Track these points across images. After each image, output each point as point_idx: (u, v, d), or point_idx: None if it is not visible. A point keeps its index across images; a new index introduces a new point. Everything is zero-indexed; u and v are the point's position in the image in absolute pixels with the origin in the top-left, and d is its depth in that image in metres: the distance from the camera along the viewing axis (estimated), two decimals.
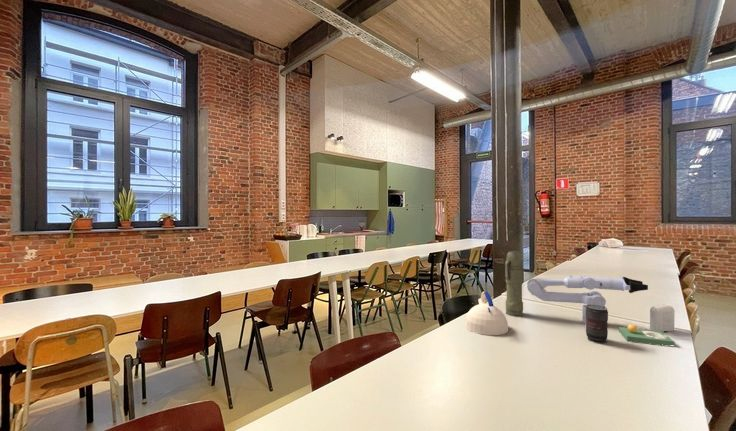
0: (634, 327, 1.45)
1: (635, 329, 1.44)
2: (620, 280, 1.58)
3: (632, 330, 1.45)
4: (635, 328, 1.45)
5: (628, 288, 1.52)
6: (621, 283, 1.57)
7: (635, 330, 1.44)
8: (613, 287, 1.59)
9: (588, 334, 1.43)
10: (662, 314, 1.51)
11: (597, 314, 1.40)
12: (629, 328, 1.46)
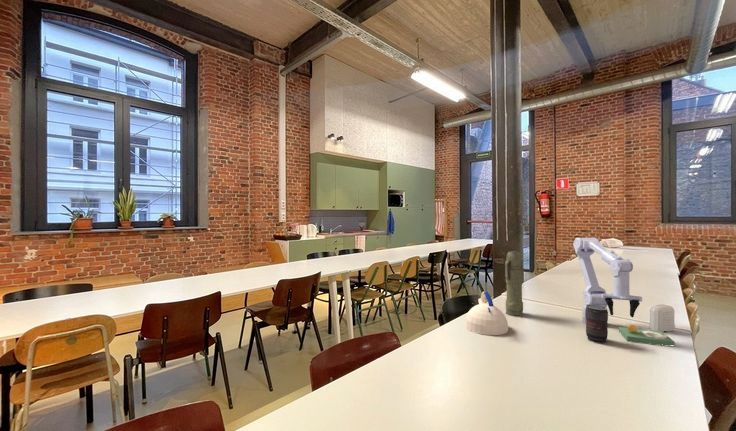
0: (634, 327, 1.45)
1: (635, 329, 1.44)
2: (618, 295, 1.46)
3: (632, 330, 1.45)
4: (635, 328, 1.45)
5: (602, 296, 1.51)
6: (614, 294, 1.48)
7: (635, 330, 1.44)
8: None
9: (588, 334, 1.43)
10: (662, 314, 1.51)
11: (597, 314, 1.40)
12: (629, 328, 1.46)
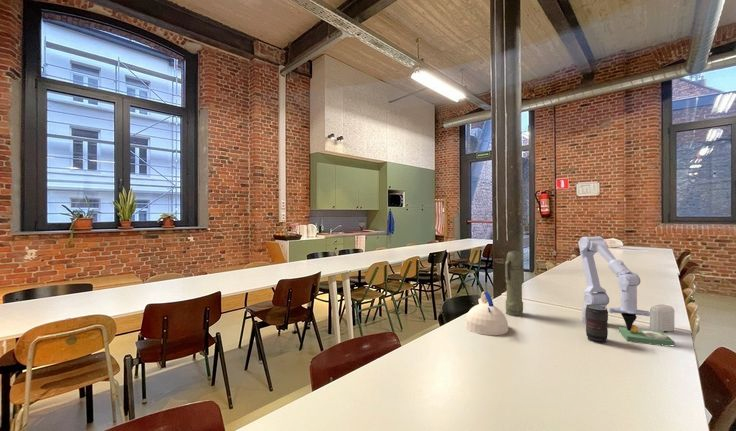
0: (636, 328, 1.44)
1: (636, 330, 1.44)
2: (625, 309, 1.45)
3: (633, 330, 1.45)
4: (637, 329, 1.44)
5: (609, 310, 1.50)
6: (622, 308, 1.47)
7: (636, 331, 1.44)
8: None
9: (588, 334, 1.43)
10: (662, 314, 1.51)
11: (597, 314, 1.40)
12: None
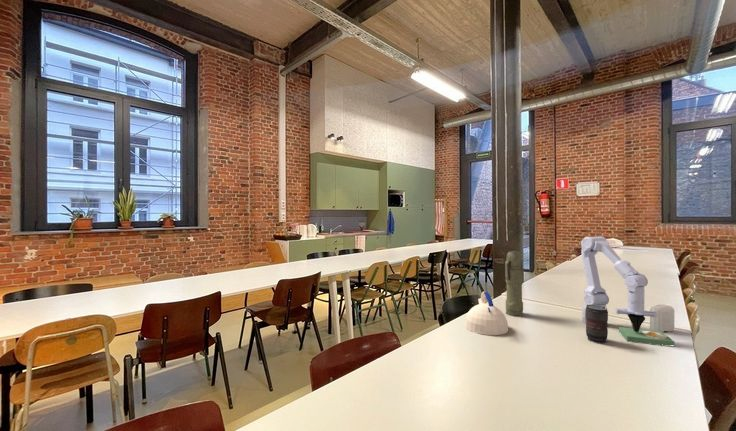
0: None
1: None
2: (633, 310, 1.44)
3: None
4: None
5: (616, 311, 1.49)
6: (629, 309, 1.46)
7: (653, 336, 1.41)
8: (628, 301, 1.48)
9: (588, 334, 1.43)
10: (662, 314, 1.51)
11: (597, 314, 1.40)
12: None
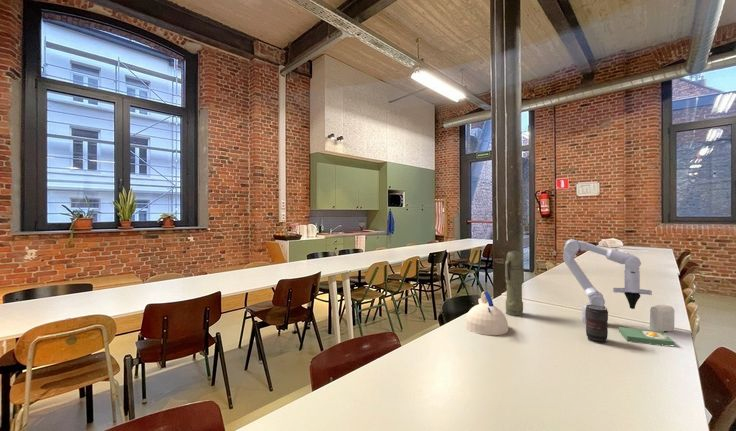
0: None
1: None
2: (629, 288, 1.55)
3: None
4: None
5: (613, 290, 1.60)
6: (625, 288, 1.57)
7: (653, 336, 1.42)
8: None
9: (588, 334, 1.43)
10: (662, 314, 1.51)
11: (597, 314, 1.40)
12: None
